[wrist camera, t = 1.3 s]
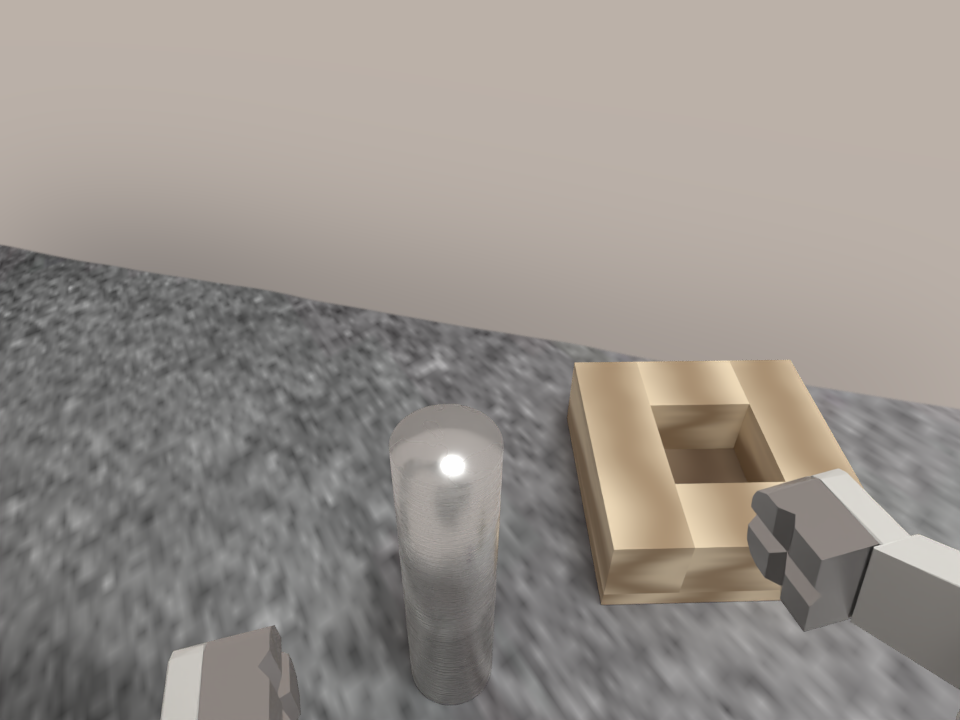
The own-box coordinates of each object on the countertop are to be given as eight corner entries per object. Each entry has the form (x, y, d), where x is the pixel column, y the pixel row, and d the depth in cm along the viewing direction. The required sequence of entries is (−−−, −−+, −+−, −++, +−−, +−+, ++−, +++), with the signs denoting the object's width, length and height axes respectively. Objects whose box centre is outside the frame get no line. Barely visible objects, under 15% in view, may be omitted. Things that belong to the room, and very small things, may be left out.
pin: (409, 706, 34) (385, 489, 23) (412, 627, 37) (392, 404, 26) (493, 703, 34) (506, 487, 24) (489, 625, 37) (499, 403, 27)
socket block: (601, 604, 38) (614, 549, 35) (566, 418, 49) (574, 362, 45) (858, 598, 38) (894, 543, 35) (768, 415, 49) (790, 359, 46)
